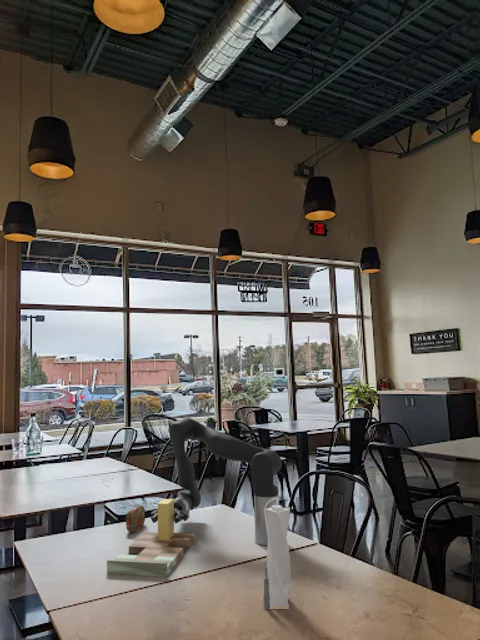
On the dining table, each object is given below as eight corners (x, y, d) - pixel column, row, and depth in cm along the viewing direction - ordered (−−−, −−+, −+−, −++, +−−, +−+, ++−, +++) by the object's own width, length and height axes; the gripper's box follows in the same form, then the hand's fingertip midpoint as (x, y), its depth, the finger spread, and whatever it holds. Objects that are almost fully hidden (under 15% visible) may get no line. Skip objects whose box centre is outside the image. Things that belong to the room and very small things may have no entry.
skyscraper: (263, 597, 149) (261, 496, 152) (291, 597, 149) (288, 496, 152) (263, 610, 141) (261, 504, 144) (293, 610, 141) (290, 504, 143)
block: (164, 533, 200) (163, 498, 202) (174, 534, 200) (173, 499, 201) (157, 539, 193) (157, 503, 195) (168, 540, 193) (168, 503, 194)
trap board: (145, 538, 203) (145, 527, 203) (195, 540, 199) (195, 529, 200) (106, 573, 168) (106, 560, 169) (166, 576, 165) (166, 563, 165)
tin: (131, 534, 208) (131, 513, 209) (124, 534, 209) (124, 512, 210) (146, 523, 223) (145, 503, 224) (139, 523, 223) (139, 503, 224)
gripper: (194, 519, 210) (182, 531, 194) (160, 518, 212) (146, 530, 196) (194, 499, 210) (182, 510, 194) (160, 499, 213) (146, 509, 197)
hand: (164, 520), depth 195 cm, fingers open, 8 cm apart
